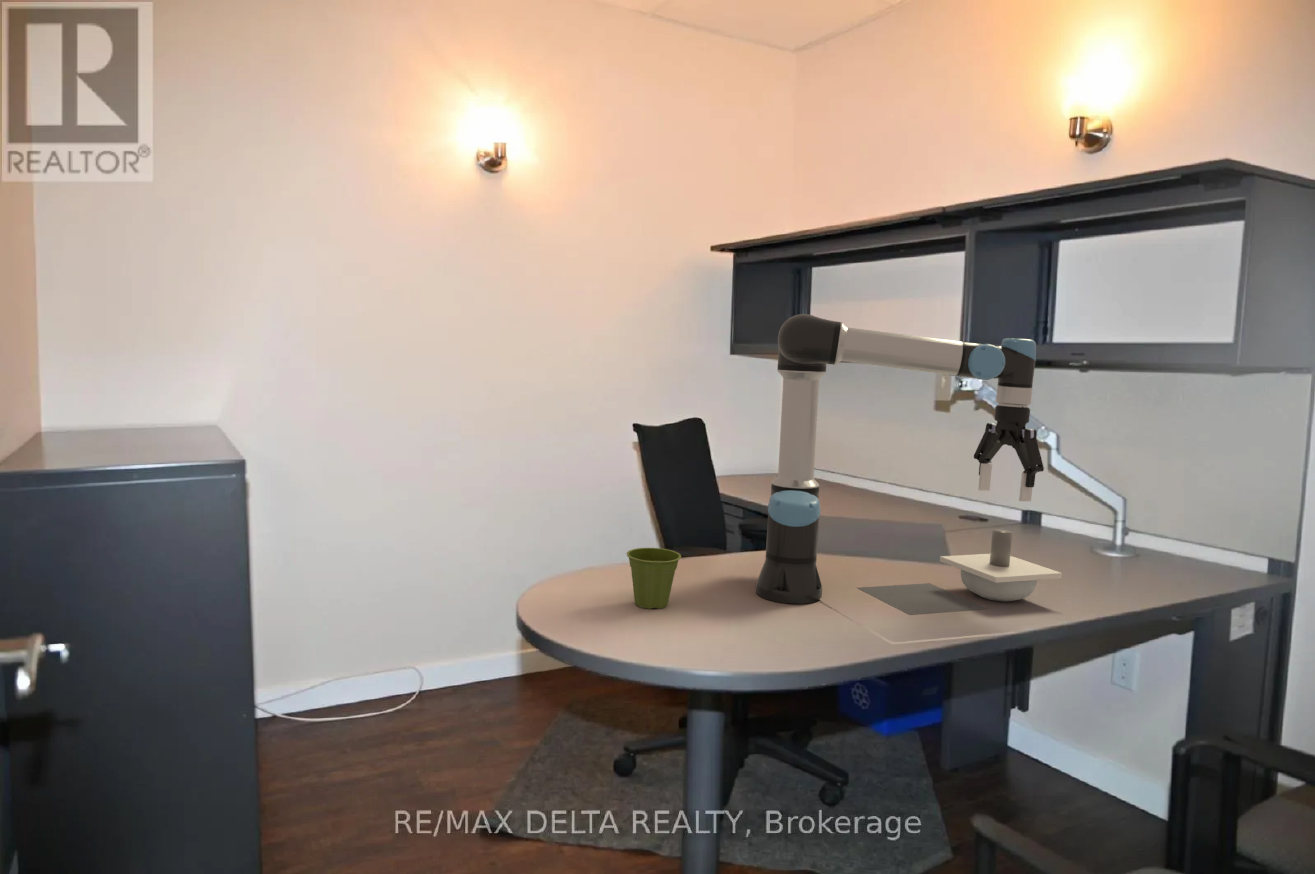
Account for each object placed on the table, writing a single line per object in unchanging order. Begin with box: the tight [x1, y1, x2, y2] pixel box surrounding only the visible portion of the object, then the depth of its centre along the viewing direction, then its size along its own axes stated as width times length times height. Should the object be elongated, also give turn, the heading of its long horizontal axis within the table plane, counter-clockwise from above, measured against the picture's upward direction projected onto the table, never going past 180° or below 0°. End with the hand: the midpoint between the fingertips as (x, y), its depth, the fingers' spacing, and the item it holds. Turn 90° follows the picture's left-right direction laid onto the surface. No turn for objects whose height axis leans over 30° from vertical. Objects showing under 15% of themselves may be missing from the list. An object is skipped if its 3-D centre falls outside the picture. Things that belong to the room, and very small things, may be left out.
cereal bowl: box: [960, 569, 1038, 602], centre depth 204 cm, size 17×17×7 cm
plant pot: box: [626, 547, 682, 610], centre depth 186 cm, size 12×12×11 cm
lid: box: [939, 528, 1063, 583], centre depth 203 cm, size 19×19×9 cm
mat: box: [857, 582, 988, 616], centre depth 200 cm, size 21×21×1 cm
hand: (1003, 495), depth 202 cm, fingers open, 13 cm apart
